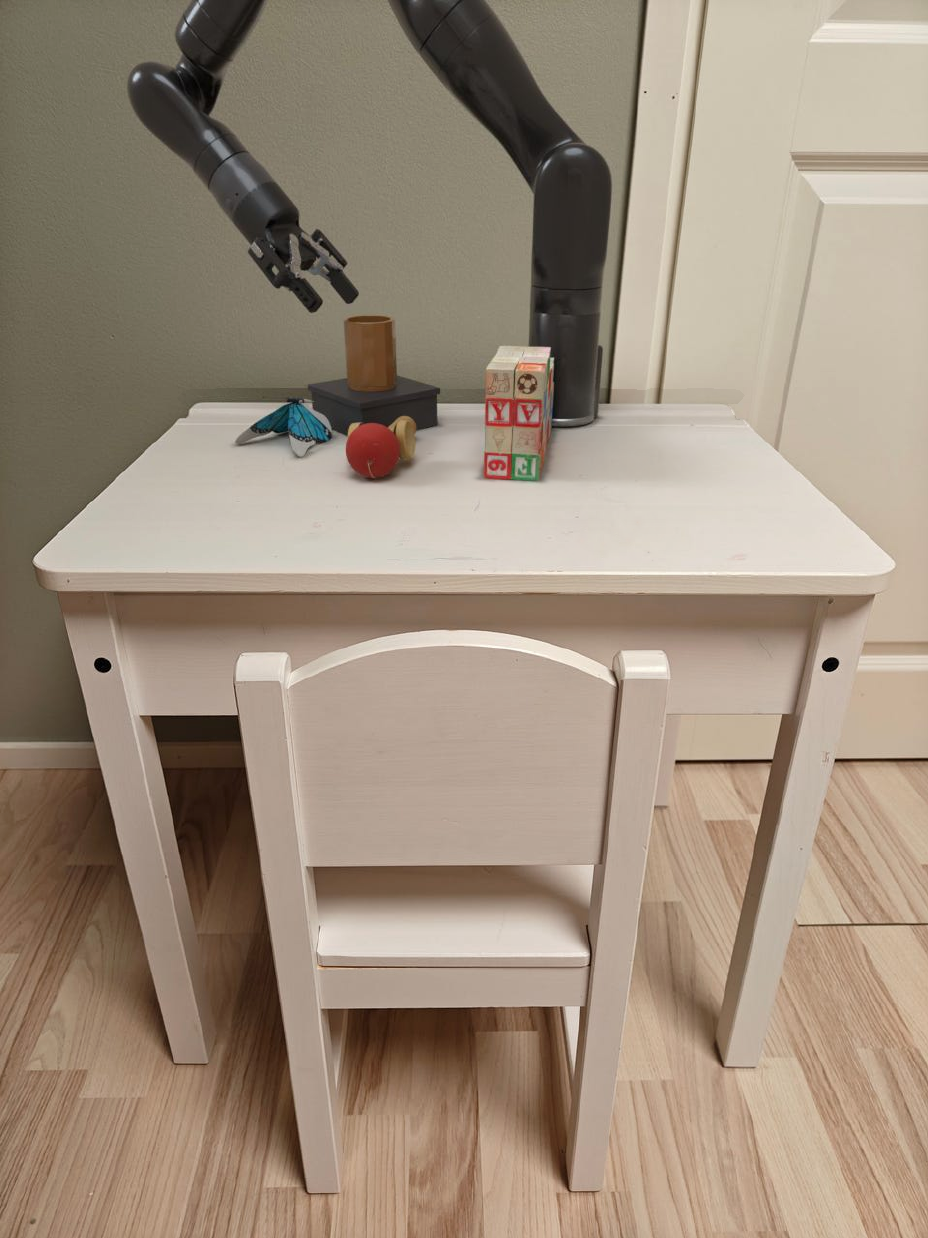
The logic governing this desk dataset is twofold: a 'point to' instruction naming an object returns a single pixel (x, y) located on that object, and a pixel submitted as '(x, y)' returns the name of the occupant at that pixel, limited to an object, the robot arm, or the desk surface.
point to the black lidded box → (375, 404)
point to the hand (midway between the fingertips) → (336, 303)
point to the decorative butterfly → (292, 425)
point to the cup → (370, 353)
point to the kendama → (380, 446)
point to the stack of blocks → (518, 412)
